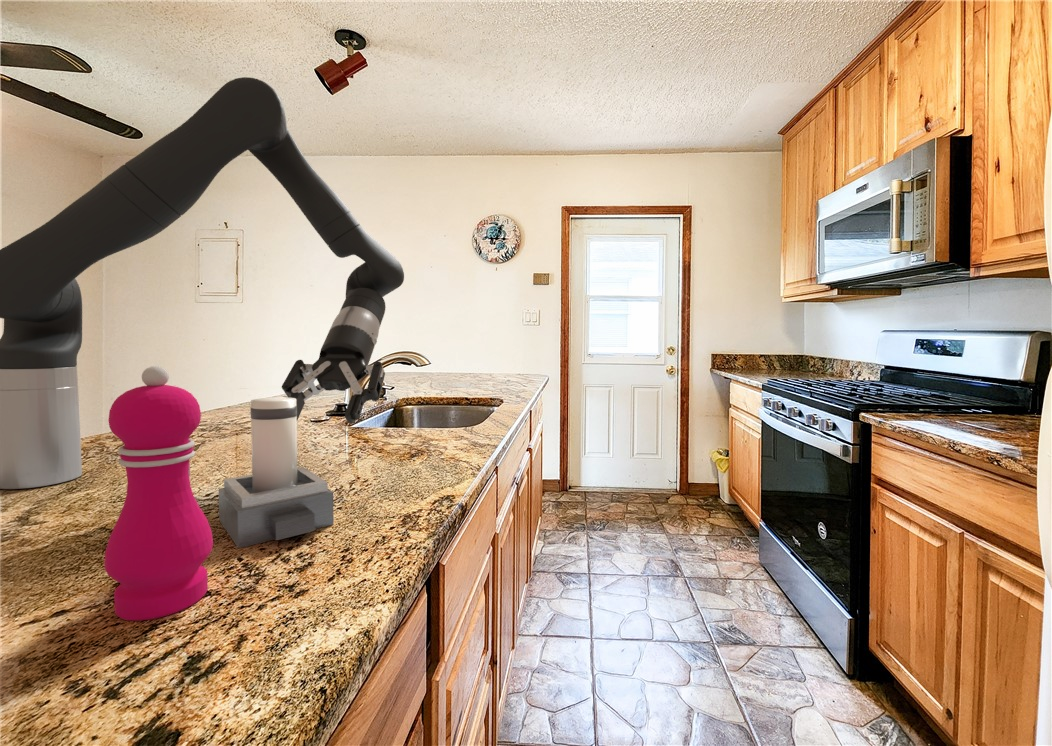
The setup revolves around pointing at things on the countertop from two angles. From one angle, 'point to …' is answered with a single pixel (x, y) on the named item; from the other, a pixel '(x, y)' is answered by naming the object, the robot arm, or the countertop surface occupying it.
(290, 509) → the block
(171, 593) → the pepper mill
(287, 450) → the white banded cylinder
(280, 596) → the countertop surface
